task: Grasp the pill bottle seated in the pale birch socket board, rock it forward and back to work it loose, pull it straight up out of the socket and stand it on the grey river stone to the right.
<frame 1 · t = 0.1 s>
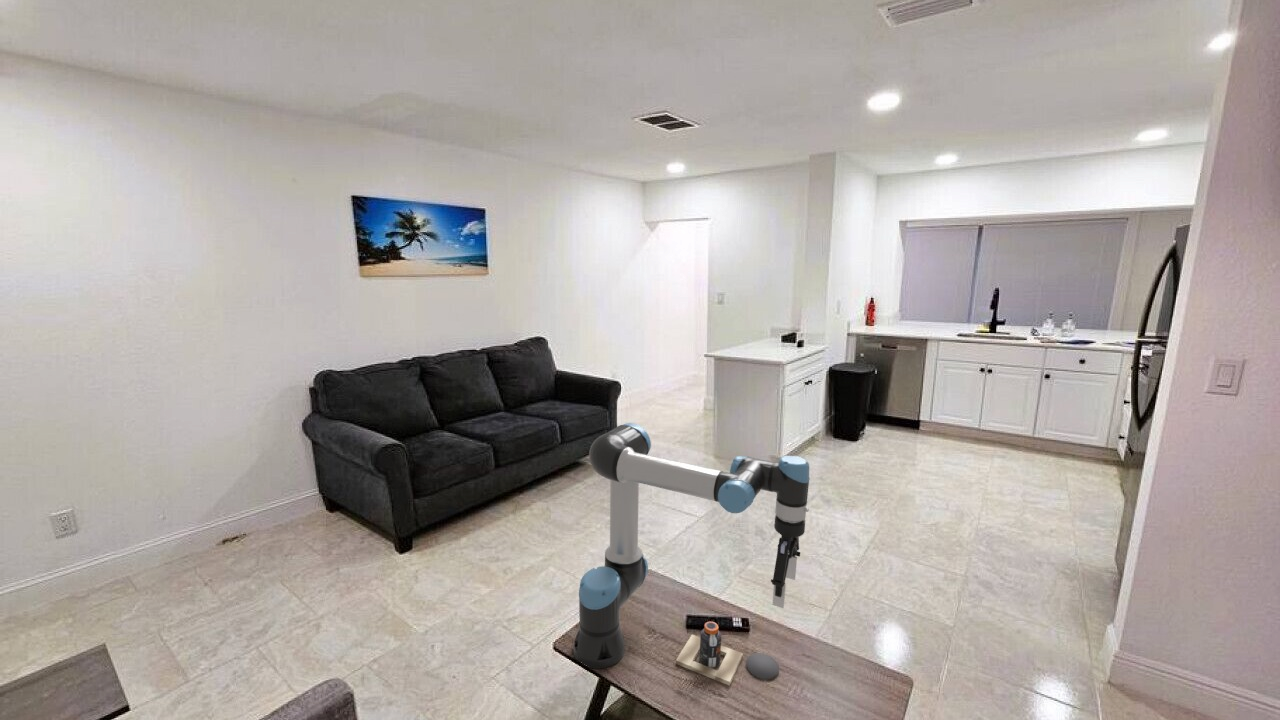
hand: (784, 591, 137), 28 cm above the table, fingers open, 13 cm apart
socket board: (709, 660, 149), on the table
grey river stone: (762, 667, 147), on the table
pill bottle: (709, 661, 150), resting in socket board
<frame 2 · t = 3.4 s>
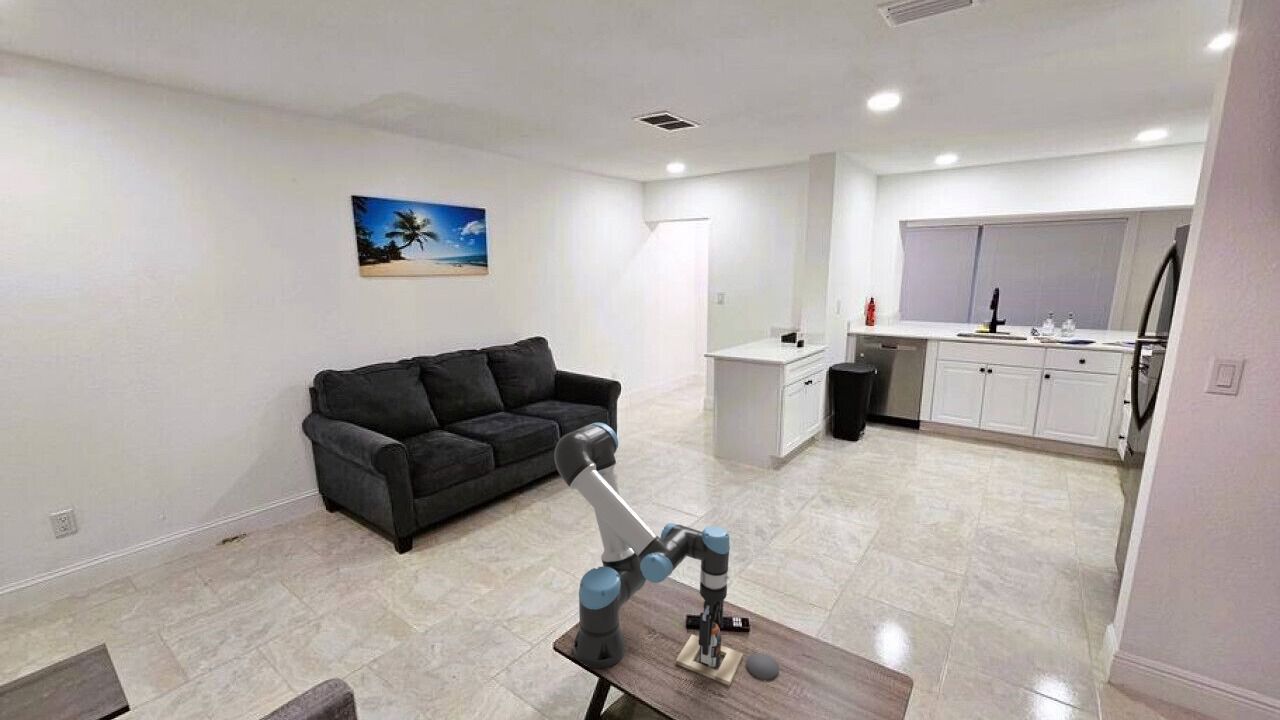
hand: (709, 654, 149), 2 cm above the table, fingers closed on pill bottle, 6 cm apart
pill bottle: (709, 661, 150), resting in socket board, touching gripper
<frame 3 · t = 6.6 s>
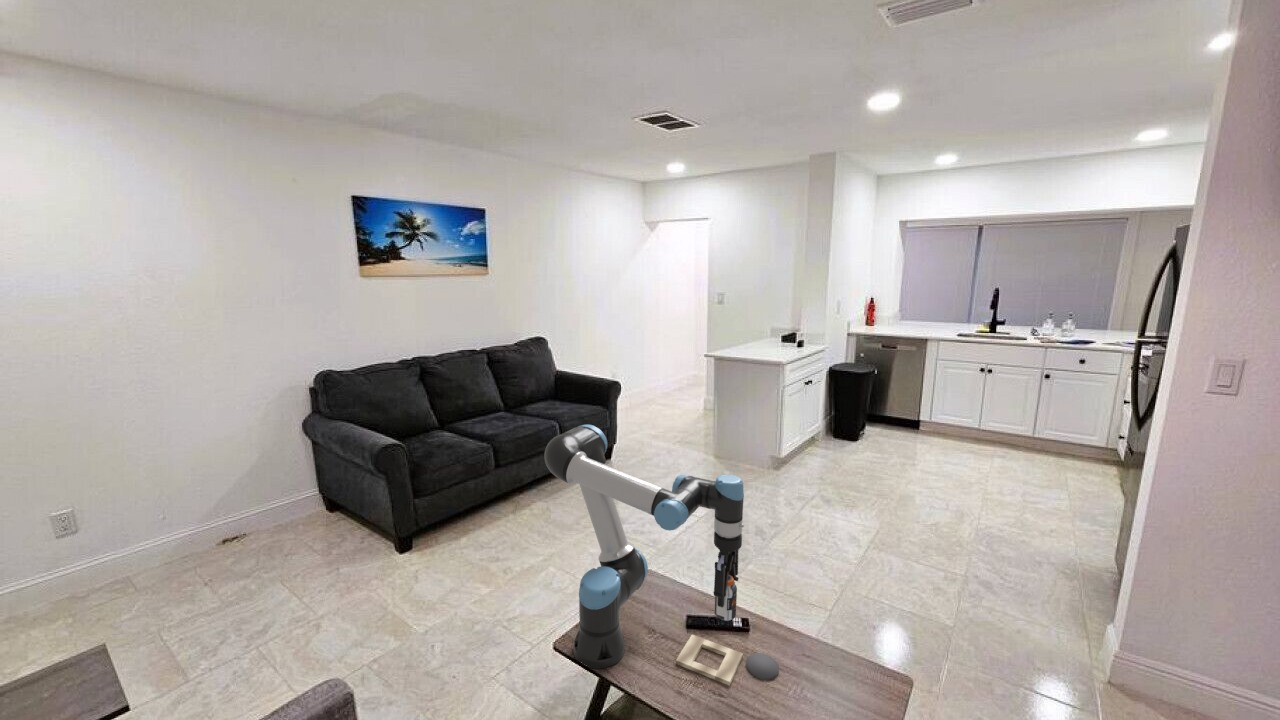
hand: (725, 608, 145), 18 cm above the table, fingers closed on pill bottle, 6 cm apart
pill bottle: (725, 615, 146), point 15 cm above the table, touching gripper
when the fingers open (4 cm above the table, at t = 10.0 s): pill bottle drops 1 cm, resting on grey river stone.
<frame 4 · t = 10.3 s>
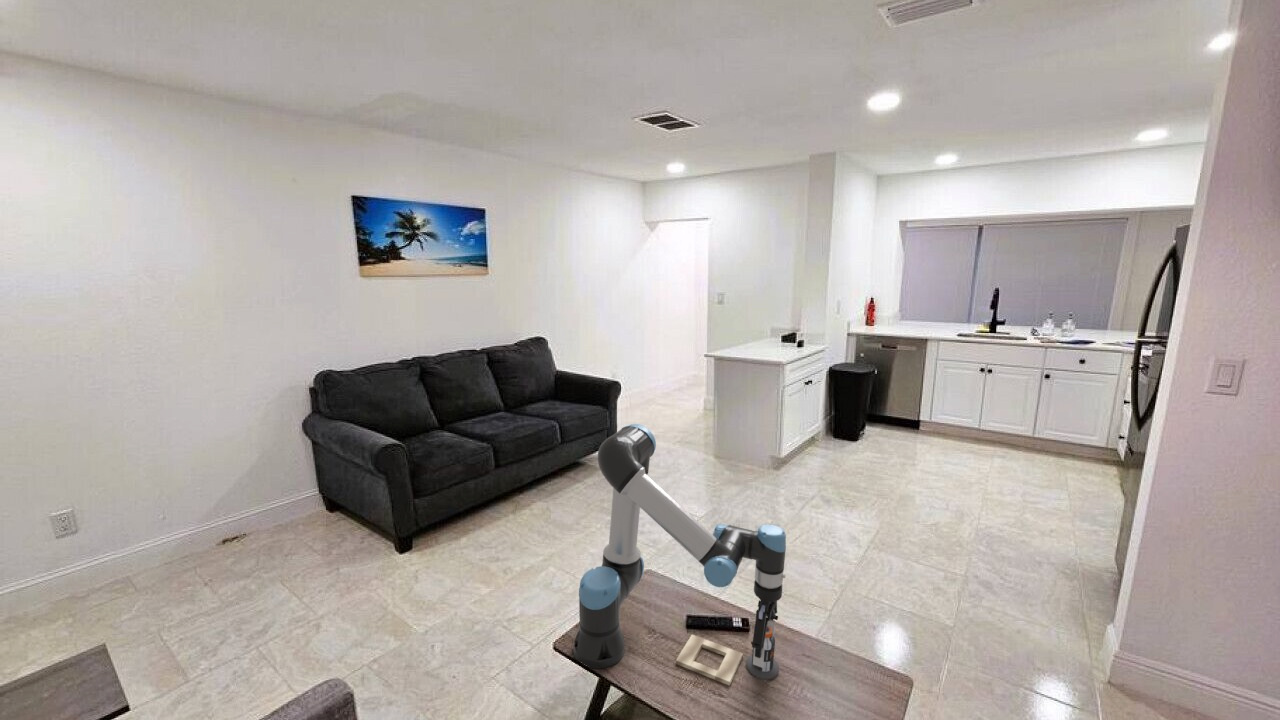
hand: (763, 652, 147), 5 cm above the table, fingers open, 10 cm apart
pill bottle: (762, 665, 147), point 1 cm above the table, touching grey river stone
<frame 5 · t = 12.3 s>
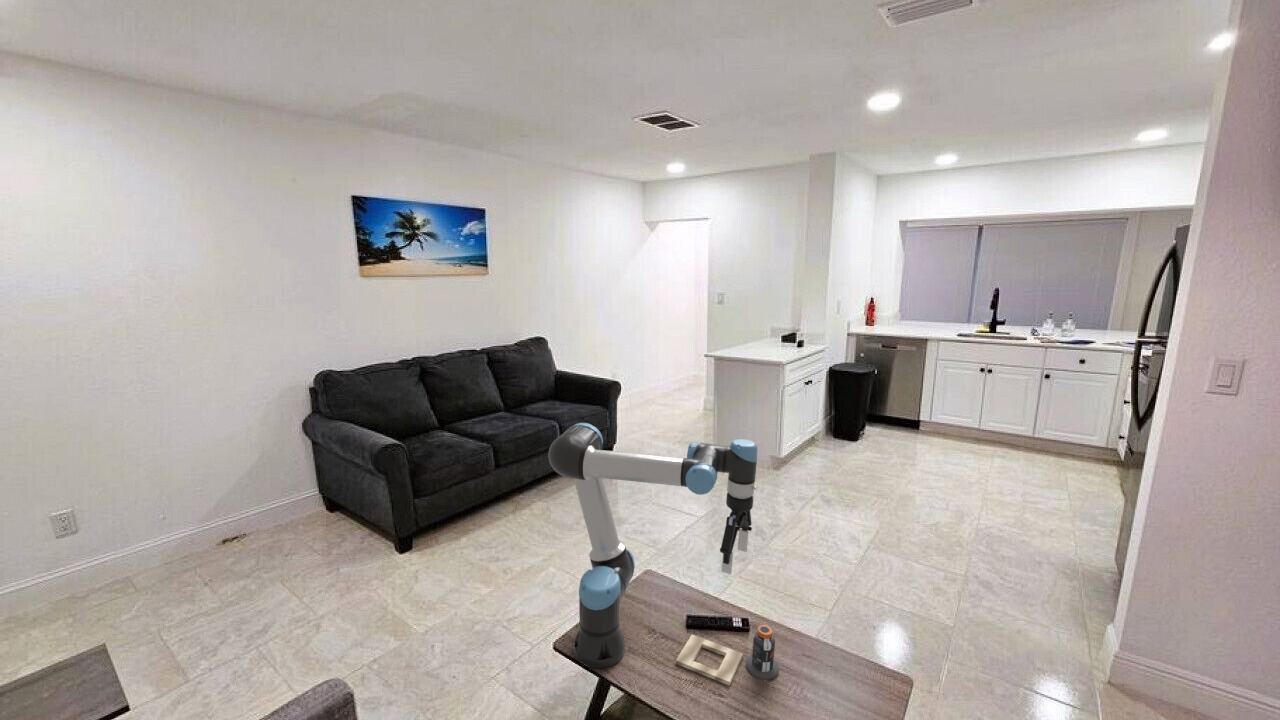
hand: (734, 561, 152), 27 cm above the table, fingers open, 13 cm apart
nothing on the table moved.
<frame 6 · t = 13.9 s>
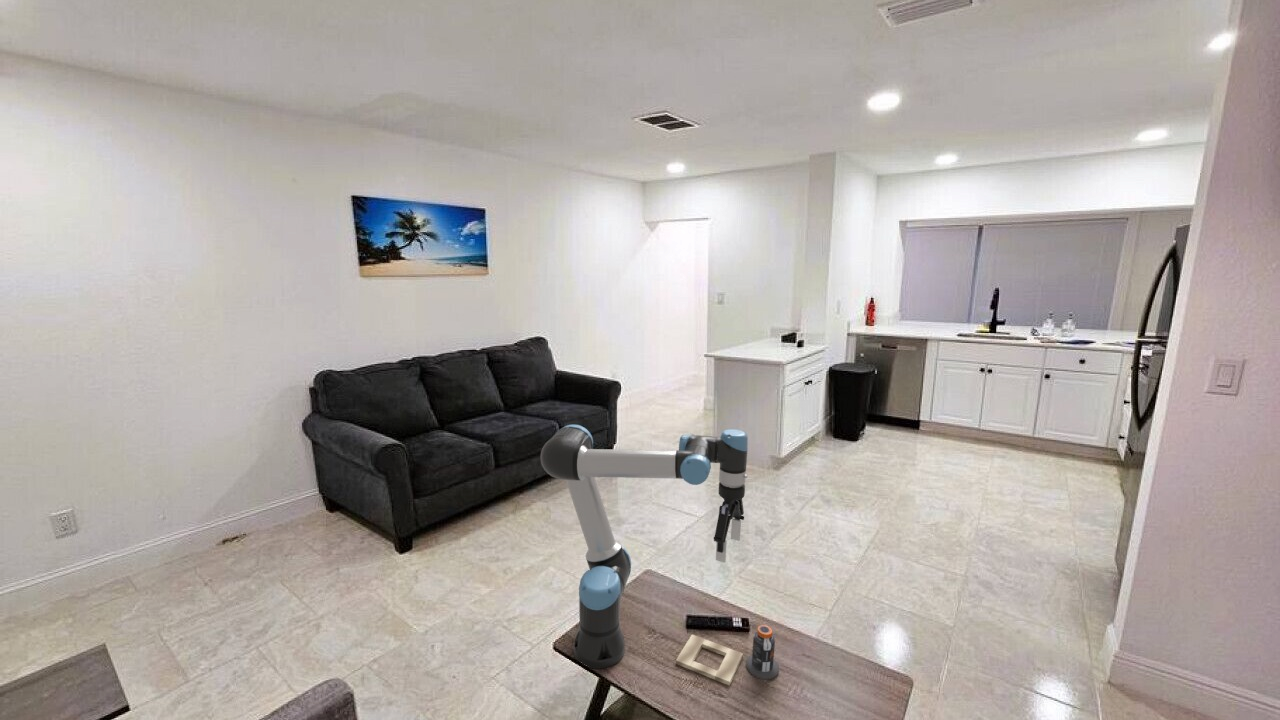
hand: (728, 549, 155), 29 cm above the table, fingers open, 13 cm apart
nothing on the table moved.
at the end: pill bottle 0.1 cm from the grey river stone (horizontally); pill bottle tilted 0°; pill bottle point 0.6 cm above the table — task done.
